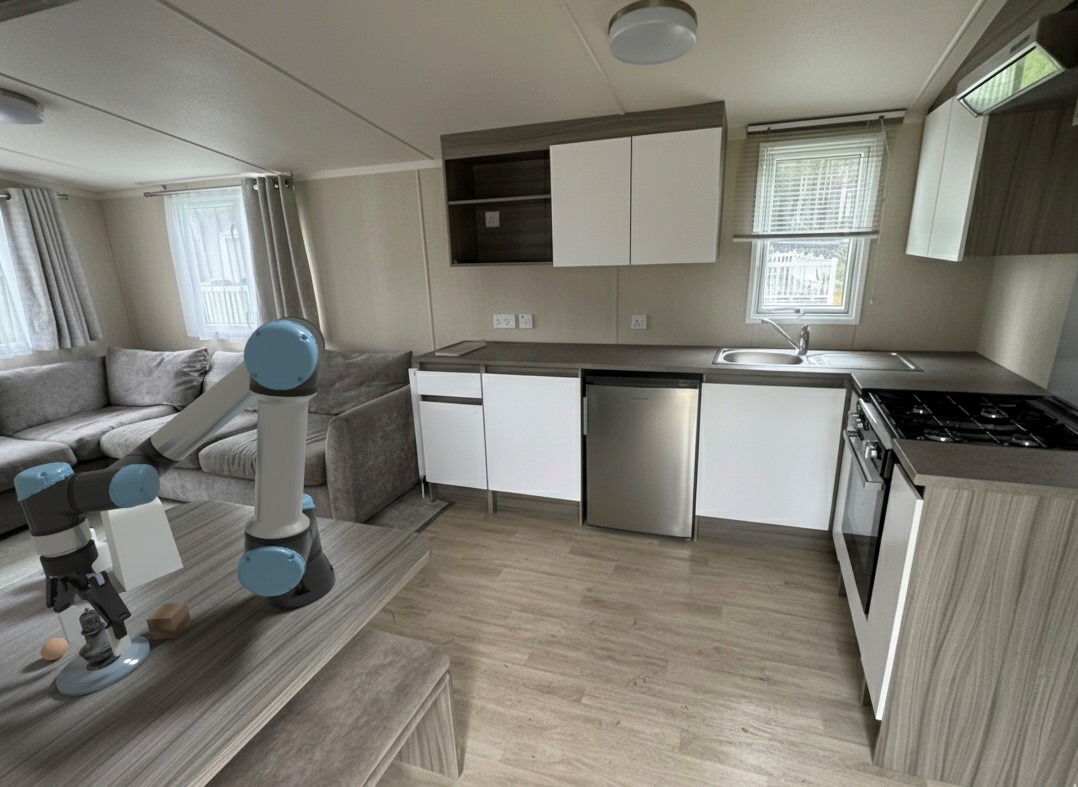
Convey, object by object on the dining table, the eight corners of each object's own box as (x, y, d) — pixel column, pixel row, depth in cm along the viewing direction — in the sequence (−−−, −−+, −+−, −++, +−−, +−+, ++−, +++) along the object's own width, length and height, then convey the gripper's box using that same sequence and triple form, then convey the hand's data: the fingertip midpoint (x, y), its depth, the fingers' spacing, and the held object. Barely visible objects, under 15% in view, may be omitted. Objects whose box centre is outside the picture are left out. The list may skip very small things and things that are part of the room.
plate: (166, 647, 103) (165, 641, 102) (89, 703, 90) (87, 697, 90) (120, 635, 107) (118, 629, 107) (39, 686, 95) (37, 680, 94)
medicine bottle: (66, 577, 130) (52, 535, 127) (98, 561, 137) (86, 521, 134) (83, 582, 128) (69, 539, 125) (114, 566, 134) (102, 525, 131)
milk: (169, 553, 139) (145, 465, 132) (183, 567, 132) (158, 475, 125) (114, 575, 130) (86, 482, 123) (126, 591, 123) (96, 493, 116)
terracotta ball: (75, 651, 103) (69, 635, 102) (51, 666, 100) (45, 649, 98) (62, 648, 104) (57, 631, 103) (39, 662, 101) (33, 645, 100)
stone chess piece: (100, 673, 95) (82, 619, 92) (76, 670, 96) (56, 617, 93) (130, 650, 101) (114, 598, 97) (107, 647, 102) (89, 596, 99)
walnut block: (191, 622, 110) (186, 602, 109) (176, 638, 105) (170, 618, 104) (168, 623, 110) (162, 603, 109) (152, 640, 105) (146, 619, 104)
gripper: (135, 543, 92) (164, 642, 97) (48, 528, 100) (79, 620, 105) (88, 567, 85) (122, 672, 90) (-1, 549, 93) (35, 646, 98)
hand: (99, 644), depth 97 cm, fingers open, 13 cm apart
